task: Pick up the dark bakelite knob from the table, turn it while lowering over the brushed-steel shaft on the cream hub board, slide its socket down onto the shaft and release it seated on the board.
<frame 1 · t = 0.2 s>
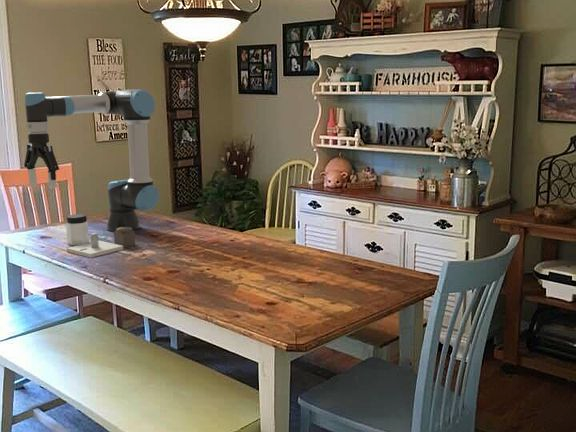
hand: (43, 186, 259), 28 cm above the table, fingers open, 13 cm apart
knob: (125, 245, 278), on the table
jar: (78, 243, 283), on the table
hub board: (95, 250, 269), on the table
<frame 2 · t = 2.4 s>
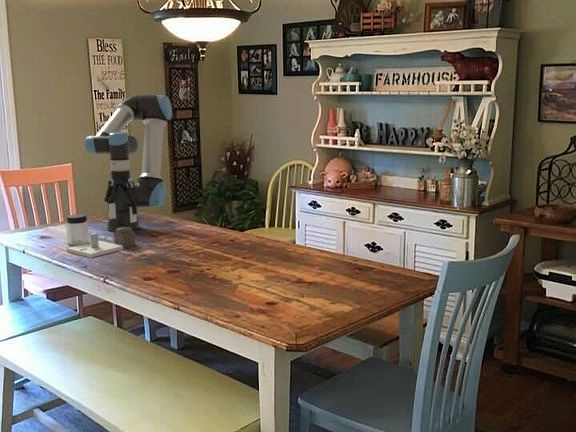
hand: (123, 220, 275), 11 cm above the table, fingers open, 13 cm apart
nothing on the table moved.
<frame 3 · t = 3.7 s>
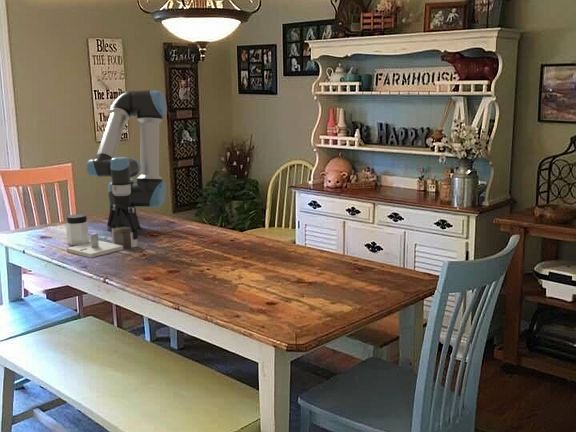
hand: (124, 244, 278), 0 cm above the table, fingers open, 12 cm apart
nothing on the table moved.
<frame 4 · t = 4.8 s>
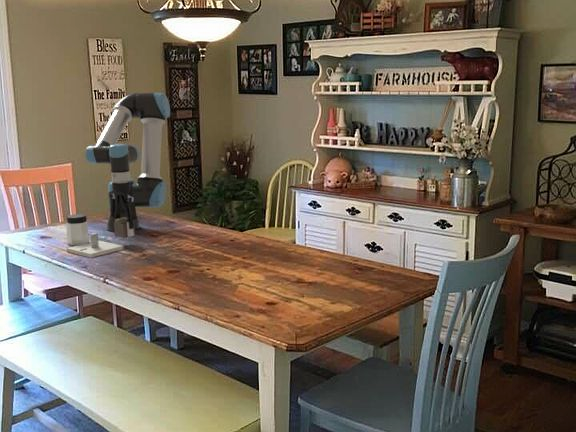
hand: (125, 234, 278), 4 cm above the table, fingers closed on knob, 6 cm apart
knob: (125, 235, 278), point 4 cm above the table, touching gripper
everything else where it was.
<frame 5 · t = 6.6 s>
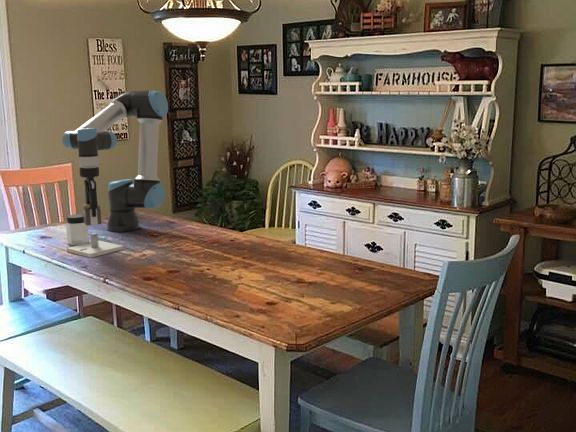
hand: (92, 222, 267), 12 cm above the table, fingers closed on knob, 6 cm apart
knob: (92, 223, 267), point 11 cm above the table, touching gripper
everything else where it was.
when the fingers open (3 cm above the table, at t = 8.5 s): knob drops 1 cm, resting on hub board.
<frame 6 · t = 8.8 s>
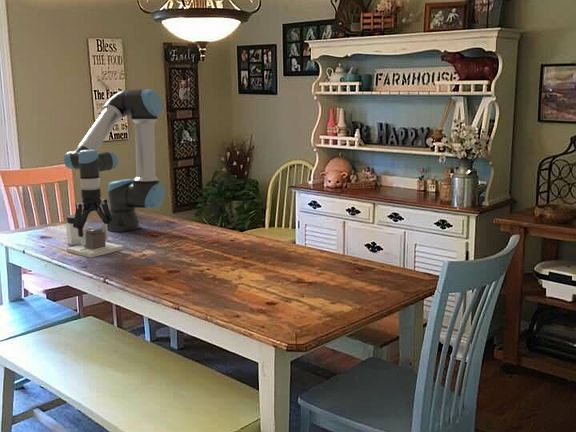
hand: (94, 241, 269), 4 cm above the table, fingers open, 10 cm apart
knob: (95, 246, 269), point 1 cm above the table, touching hub board
everything else where it was.
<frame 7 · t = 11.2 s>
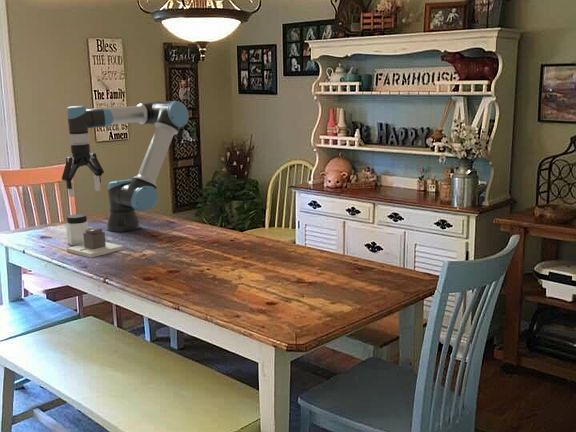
hand: (85, 193, 277), 22 cm above the table, fingers open, 13 cm apart
nothing on the table moved.
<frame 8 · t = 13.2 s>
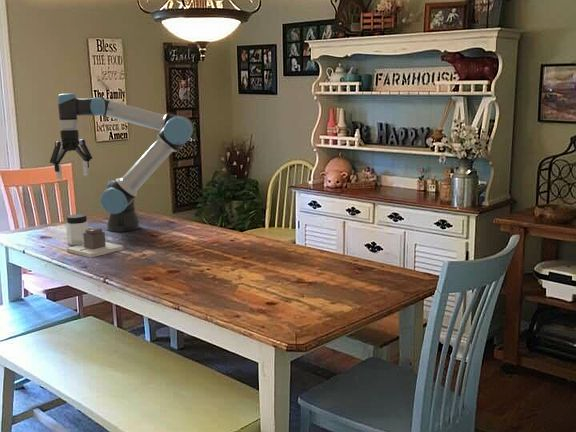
hand: (72, 177, 291), 27 cm above the table, fingers open, 13 cm apart
nothing on the table moved.
at the end: knob 0.2 cm from the hub board (horizontally); knob point 1.5 cm above the table; the gripper is holding nothing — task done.
